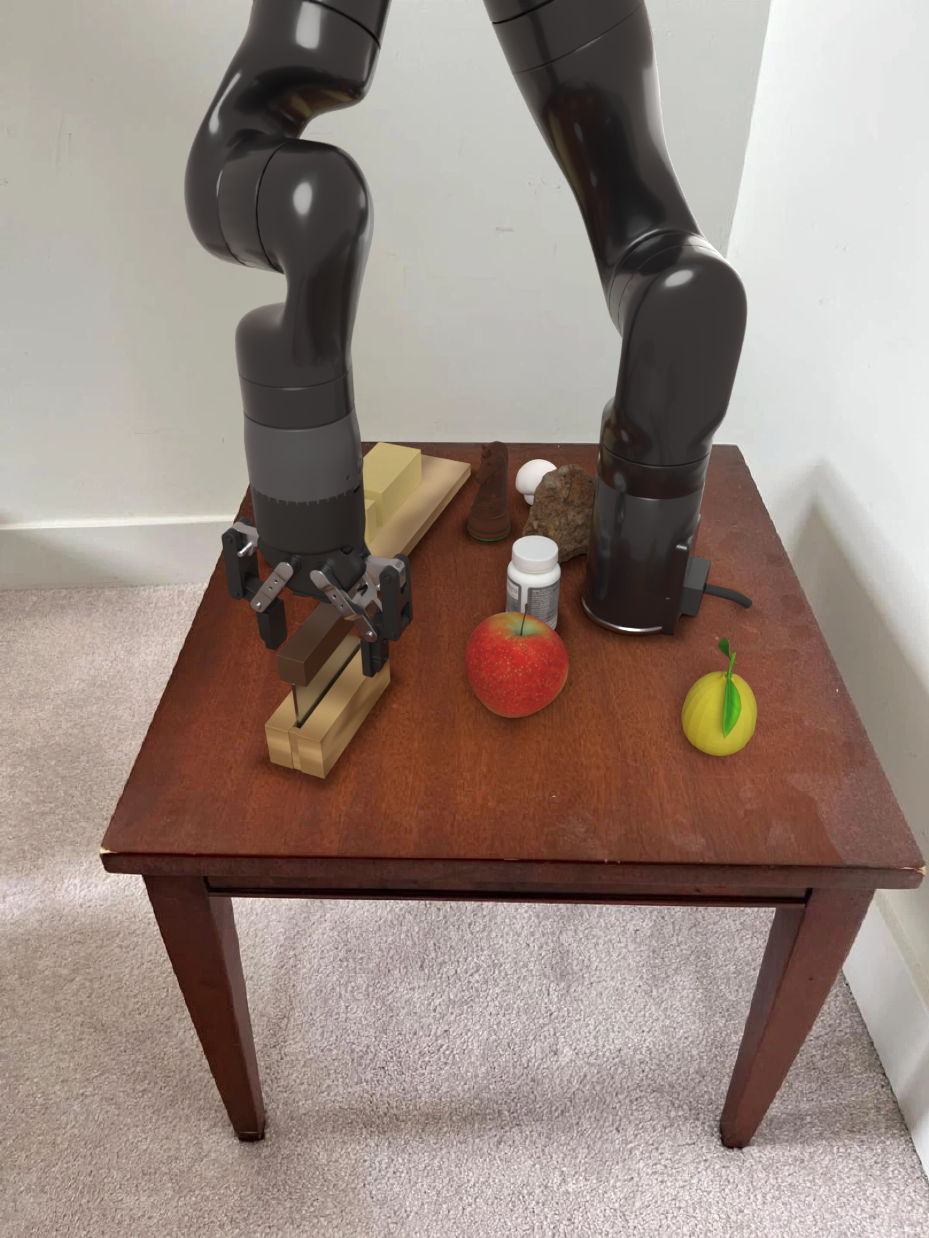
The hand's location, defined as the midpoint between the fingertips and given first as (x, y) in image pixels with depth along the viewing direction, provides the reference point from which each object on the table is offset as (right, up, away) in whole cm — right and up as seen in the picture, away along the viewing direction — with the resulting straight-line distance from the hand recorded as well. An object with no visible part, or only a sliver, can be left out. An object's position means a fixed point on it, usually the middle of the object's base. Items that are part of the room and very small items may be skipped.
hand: (324, 656), depth 72 cm
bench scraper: (0, -5, +4) cm, 7 cm away
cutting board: (+2, +14, +29) cm, 32 cm away
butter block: (+2, +16, +29) cm, 33 cm away
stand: (0, -5, +4) cm, 7 cm away
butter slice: (-1, +12, +23) cm, 26 cm away
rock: (+21, +9, +23) cm, 33 cm away
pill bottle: (+17, +2, +14) cm, 22 cm away
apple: (+15, -4, +6) cm, 16 cm away
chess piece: (+13, +12, +27) cm, 33 cm away
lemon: (+30, -7, +2) cm, 31 cm away
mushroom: (+19, +16, +31) cm, 40 cm away
